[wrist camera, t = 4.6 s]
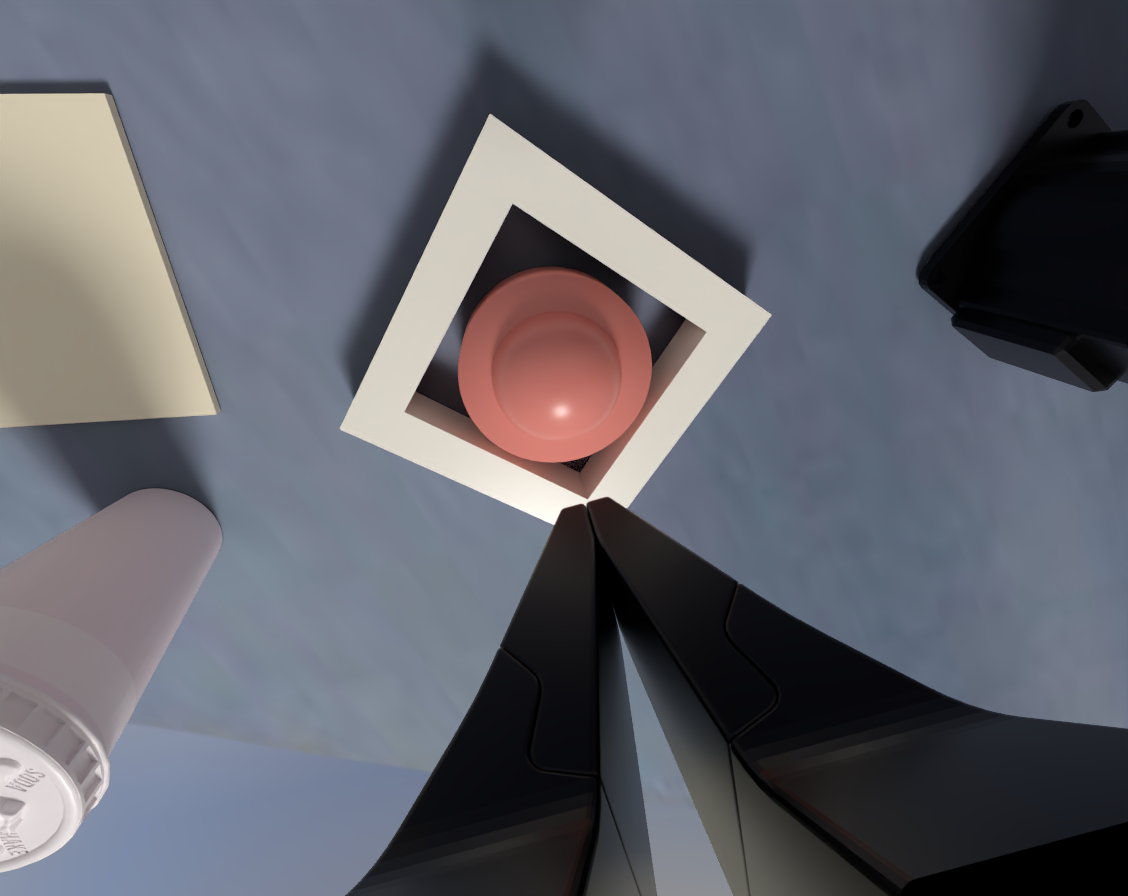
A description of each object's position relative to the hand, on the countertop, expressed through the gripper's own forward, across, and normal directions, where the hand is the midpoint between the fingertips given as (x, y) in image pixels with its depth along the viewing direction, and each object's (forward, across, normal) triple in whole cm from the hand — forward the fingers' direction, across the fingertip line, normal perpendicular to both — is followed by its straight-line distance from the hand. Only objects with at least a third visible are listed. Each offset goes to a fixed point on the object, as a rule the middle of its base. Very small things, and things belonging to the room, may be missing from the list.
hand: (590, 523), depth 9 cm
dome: (+10, 0, 0) cm, 10 cm away
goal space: (+10, +14, -6) cm, 19 cm away
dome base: (+10, 0, 0) cm, 10 cm away
